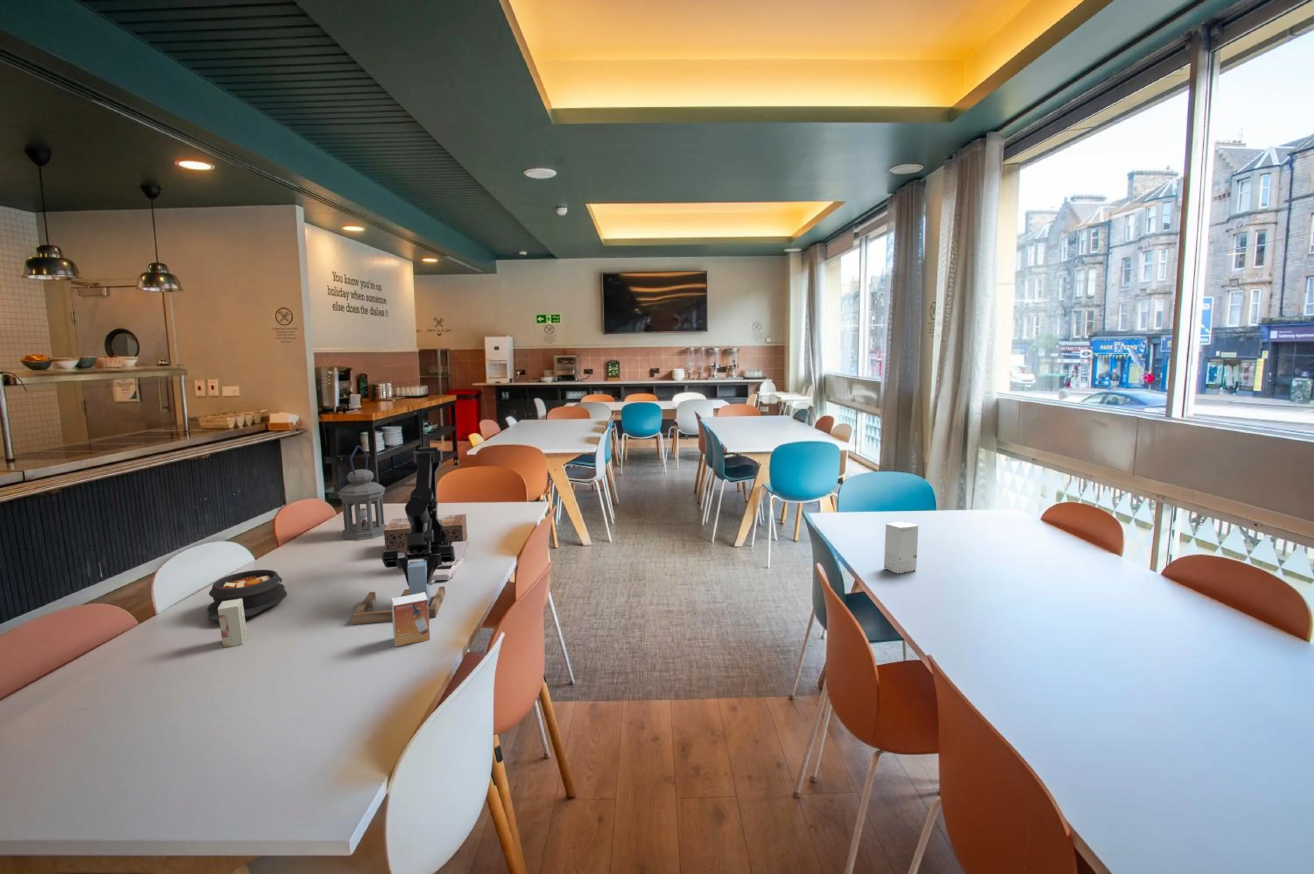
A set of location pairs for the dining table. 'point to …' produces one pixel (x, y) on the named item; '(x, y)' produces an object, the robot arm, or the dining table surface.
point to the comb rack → (386, 615)
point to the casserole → (247, 591)
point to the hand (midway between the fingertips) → (418, 584)
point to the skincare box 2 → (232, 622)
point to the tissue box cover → (401, 527)
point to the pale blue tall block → (418, 578)
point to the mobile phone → (451, 563)
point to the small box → (410, 619)
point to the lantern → (362, 493)
